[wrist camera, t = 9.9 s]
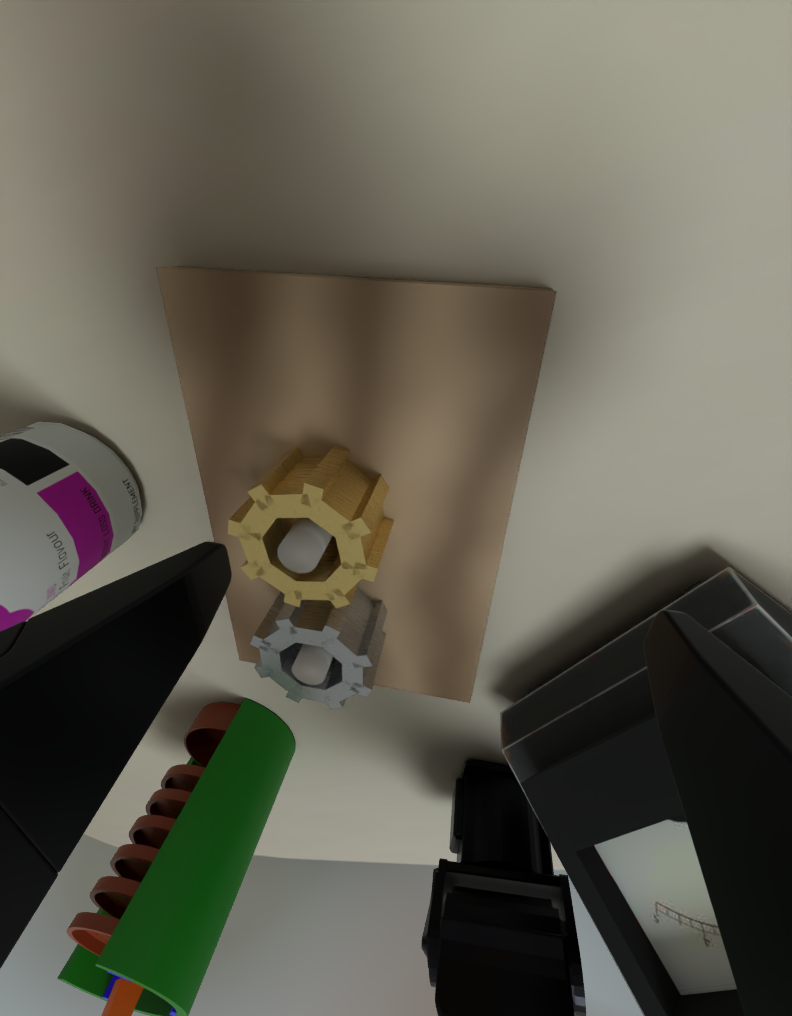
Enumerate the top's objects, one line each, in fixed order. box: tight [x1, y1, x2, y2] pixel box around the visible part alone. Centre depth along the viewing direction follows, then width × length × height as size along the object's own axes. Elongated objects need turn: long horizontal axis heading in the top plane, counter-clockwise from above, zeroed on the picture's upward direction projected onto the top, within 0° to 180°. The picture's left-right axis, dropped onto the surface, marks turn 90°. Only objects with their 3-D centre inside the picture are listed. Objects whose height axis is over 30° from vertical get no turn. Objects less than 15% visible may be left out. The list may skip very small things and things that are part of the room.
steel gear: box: [250, 581, 387, 709], centre depth 24 cm, size 7×7×4 cm
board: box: [156, 267, 556, 703], centre depth 22 cm, size 16×24×6 cm, turn 178°
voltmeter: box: [500, 567, 792, 1016], centre depth 18 cm, size 16×16×20 cm
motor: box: [58, 698, 295, 1016], centre depth 30 cm, size 10×9×20 cm
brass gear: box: [228, 445, 394, 608], centre depth 21 cm, size 7×7×4 cm
